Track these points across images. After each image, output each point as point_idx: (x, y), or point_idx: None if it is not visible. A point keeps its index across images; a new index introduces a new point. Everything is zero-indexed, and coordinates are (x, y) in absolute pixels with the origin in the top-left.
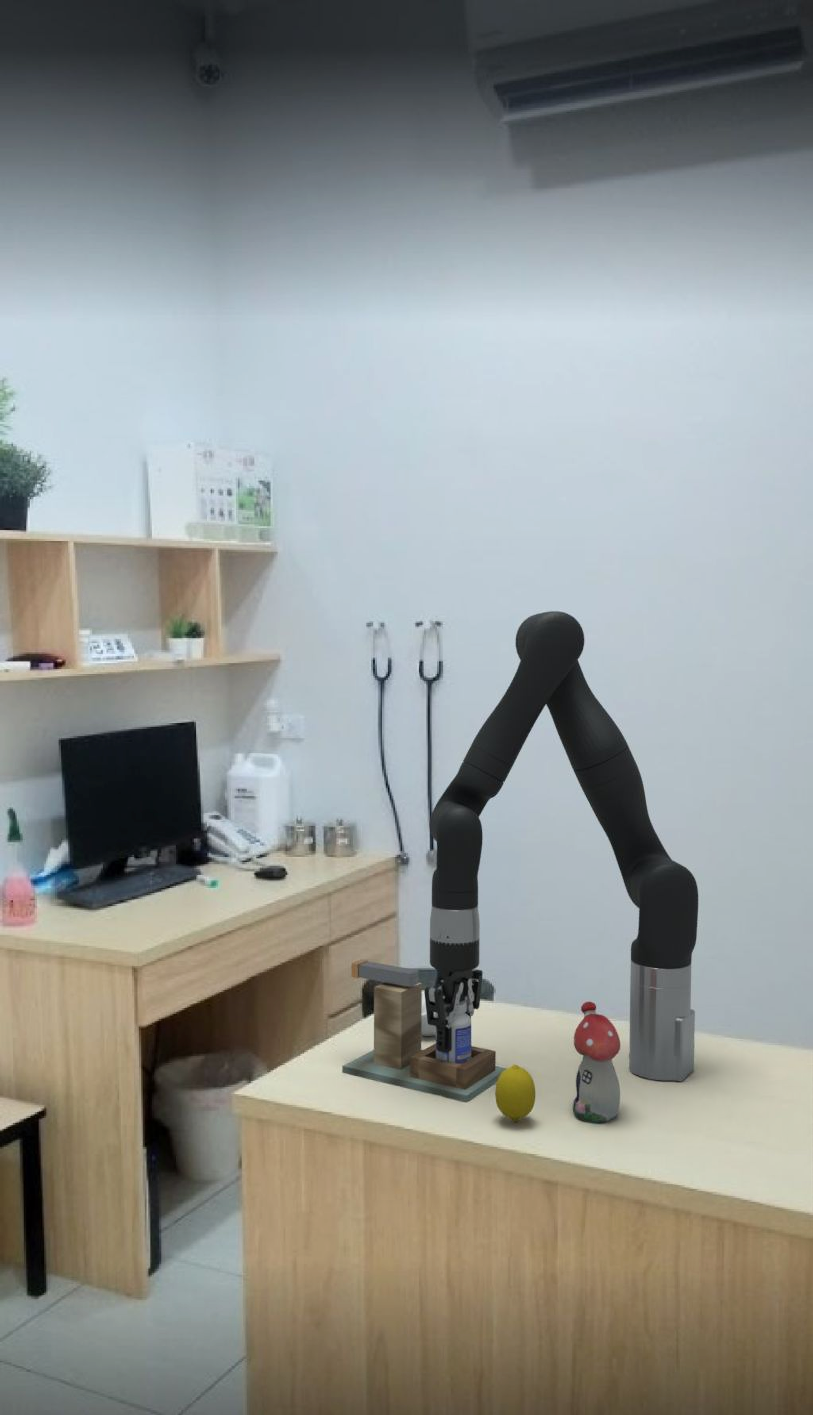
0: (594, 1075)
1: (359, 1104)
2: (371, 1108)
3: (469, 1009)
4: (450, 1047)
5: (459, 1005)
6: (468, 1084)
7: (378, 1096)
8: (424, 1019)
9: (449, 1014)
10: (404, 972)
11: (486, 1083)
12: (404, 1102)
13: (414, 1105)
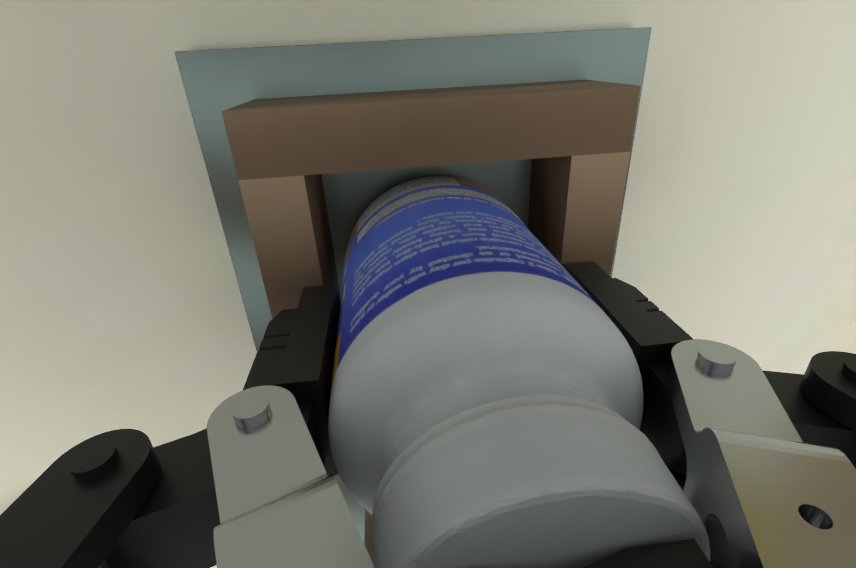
0: None
1: (780, 341)
2: (803, 296)
3: (307, 440)
4: (583, 269)
5: (656, 497)
6: (558, 82)
7: (699, 338)
8: None
9: (798, 435)
10: None
11: (439, 38)
12: (722, 245)
13: (738, 200)
